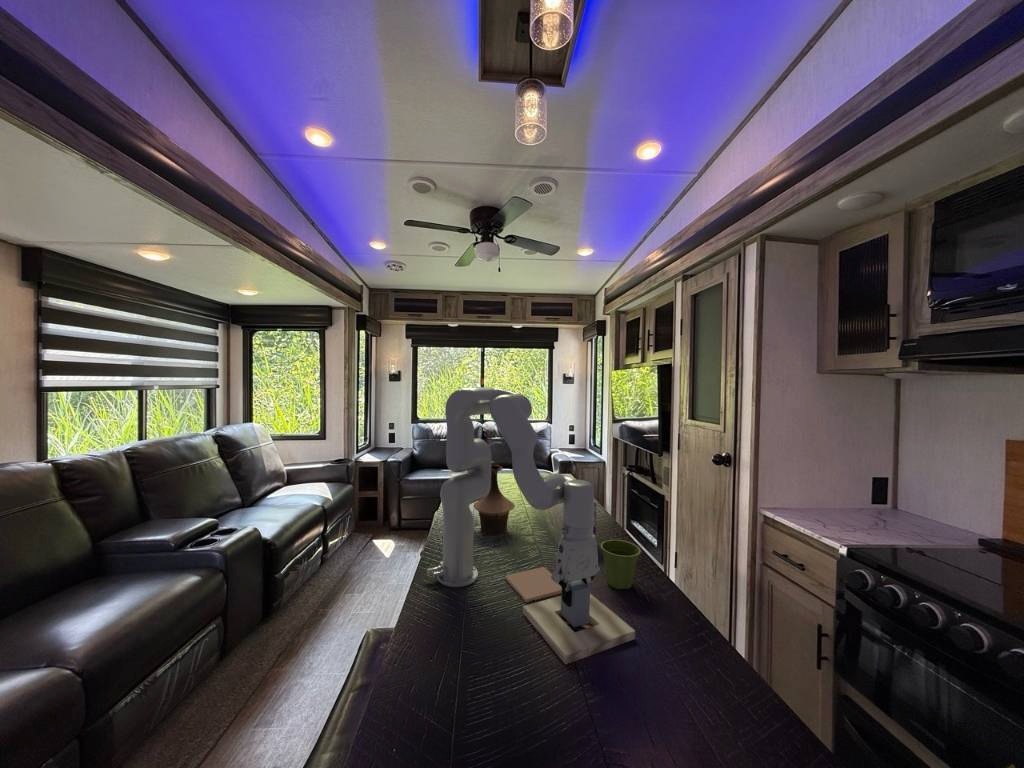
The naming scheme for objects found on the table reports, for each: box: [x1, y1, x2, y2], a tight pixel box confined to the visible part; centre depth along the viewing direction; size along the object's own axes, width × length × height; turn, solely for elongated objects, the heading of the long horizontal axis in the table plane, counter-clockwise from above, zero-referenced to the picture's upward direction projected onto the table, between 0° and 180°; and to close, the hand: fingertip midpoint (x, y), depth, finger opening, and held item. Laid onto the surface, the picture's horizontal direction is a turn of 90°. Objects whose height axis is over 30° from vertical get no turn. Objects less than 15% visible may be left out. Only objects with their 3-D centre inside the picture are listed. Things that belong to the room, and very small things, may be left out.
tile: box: [504, 566, 561, 603], centre depth 115 cm, size 14×14×1 cm
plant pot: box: [600, 539, 642, 590], centre depth 117 cm, size 12×12×11 cm
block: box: [560, 579, 591, 628], centre depth 97 cm, size 4×6×9 cm
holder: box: [522, 593, 636, 665], centre depth 97 cm, size 20×20×2 cm
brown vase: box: [473, 460, 516, 536], centre depth 157 cm, size 18×17×28 cm
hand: (575, 600), depth 97 cm, fingers closed on block, 4 cm apart
